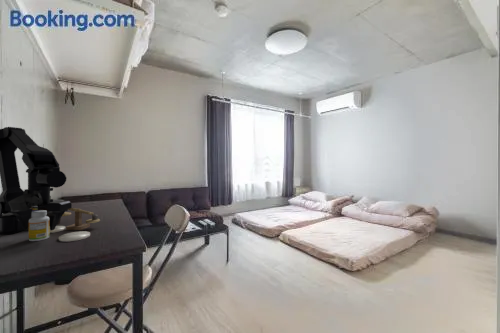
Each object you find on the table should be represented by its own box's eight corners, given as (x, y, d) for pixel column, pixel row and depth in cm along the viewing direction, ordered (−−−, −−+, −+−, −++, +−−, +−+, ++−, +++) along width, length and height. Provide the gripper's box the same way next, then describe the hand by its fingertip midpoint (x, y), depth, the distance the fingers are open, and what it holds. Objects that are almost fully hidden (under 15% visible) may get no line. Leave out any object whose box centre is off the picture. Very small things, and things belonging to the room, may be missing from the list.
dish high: (36, 233, 86) (36, 230, 86) (52, 227, 93) (52, 225, 93) (55, 233, 86) (55, 231, 86) (69, 227, 93) (69, 226, 93)
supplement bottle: (37, 236, 82) (37, 209, 82) (53, 236, 83) (53, 209, 82) (24, 241, 77) (24, 213, 77) (41, 241, 77) (41, 213, 77)
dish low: (51, 241, 77) (51, 239, 77) (72, 233, 86) (72, 231, 86) (78, 241, 77) (78, 239, 77) (95, 233, 86) (95, 231, 86)
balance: (52, 229, 90) (52, 207, 90) (63, 226, 95) (63, 204, 95) (94, 230, 90) (94, 207, 90) (102, 226, 95) (102, 205, 95)
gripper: (-15, 188, 71) (-14, 237, 71) (45, 189, 71) (45, 238, 72) (21, 184, 82) (21, 226, 83) (72, 185, 82) (72, 227, 83)
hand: (39, 229), depth 80 cm, fingers open, 9 cm apart
